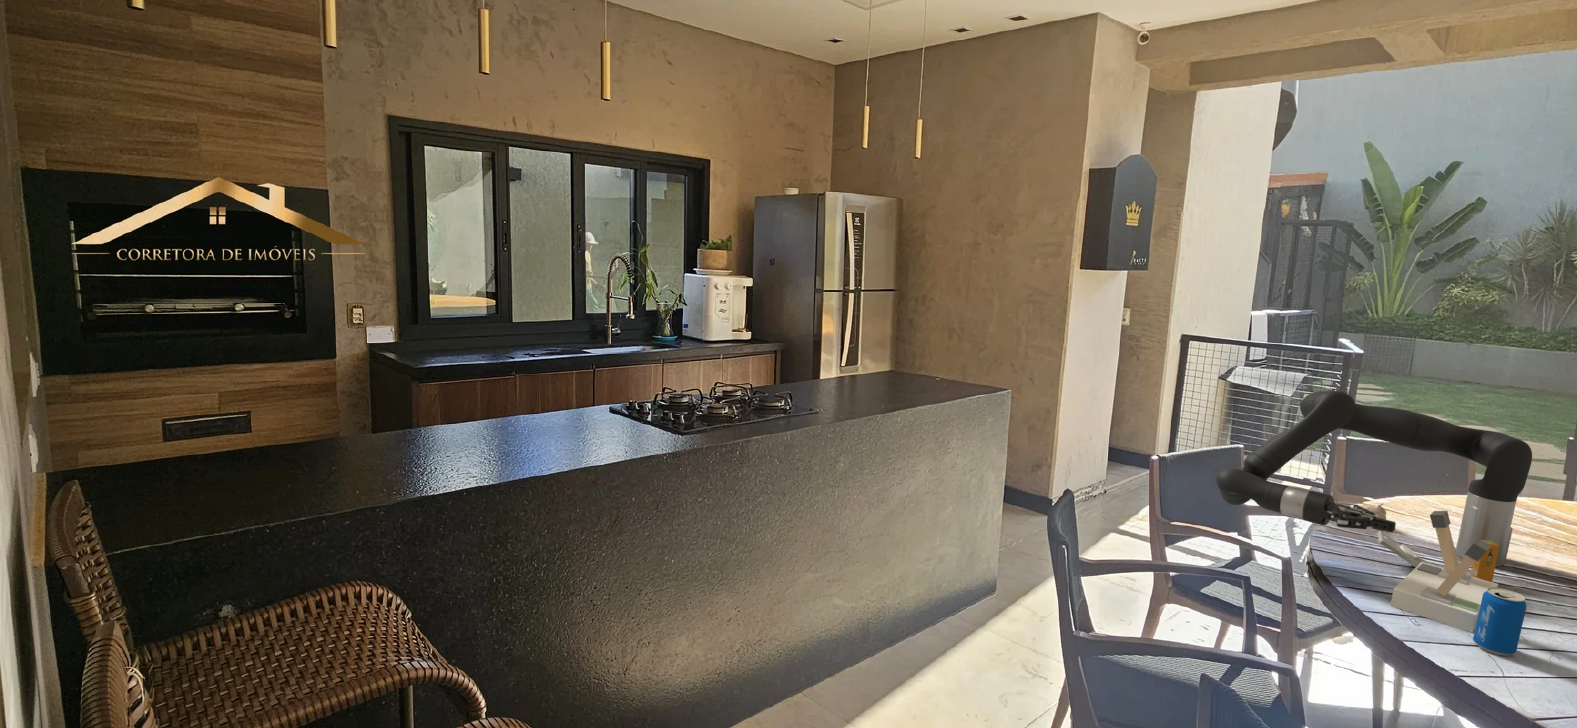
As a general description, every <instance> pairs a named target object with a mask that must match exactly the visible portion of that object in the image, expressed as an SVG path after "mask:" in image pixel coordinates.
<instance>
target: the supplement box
mask: <svg viewBox="0 0 1577 728" xmlns="http://www.w3.org/2000/svg"><path fill="white" fill-rule="evenodd" d="M1482 541H1484V542H1485V543H1487V544H1489V545H1491V547H1490V548H1489V549H1488V550H1487V551H1486V553H1485V554H1484V555H1483V556H1482V557H1481V558H1480V560H1479V561H1478V562H1477V561H1475V562H1474V564H1473V565H1472V566H1471V567H1470V572H1469V575H1471V576H1472V577H1476V578H1479V579H1482V580H1486V581H1489V582H1493V580H1494V574H1495V571H1496V566H1495V565H1496V560H1497V555H1498V549H1499V545H1497V544H1496V543H1494V542H1492V541H1487V540H1482Z"/></svg>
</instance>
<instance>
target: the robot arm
mask: <svg viewBox="0 0 1577 728" xmlns="http://www.w3.org/2000/svg"><path fill="white" fill-rule="evenodd" d="M1299 411H1300V413H1301V416H1303V419H1301V420H1300V421H1298V422H1296V424H1294V425H1293V426H1291V427H1289V428H1288V429H1286V430H1284V431H1282V432H1280V433H1278V434H1276V435H1274V436H1273V437H1271V438H1270V439H1268V440H1266V441H1265V442H1263V443H1261V444H1260V445H1259V446H1258V447H1257V448H1255V450H1253V451H1252V452H1251V453H1250V454H1248V455H1247V456H1246V457H1245V459H1244V461H1243V464H1242V465H1243V466H1242V469H1239V468H1226V469H1223V470H1221V471H1219V472H1218V473H1217V475H1216V477H1215V482H1216V485H1217V489H1218V490H1219V493H1220V495H1221V498H1222V499H1223V500H1224V501H1225V502H1226V503H1227V504H1229V505H1232V506H1241V505H1243V504H1246V503H1248V502H1249V501H1250V500H1252V501H1253V502H1255V503H1256V504H1257V506H1259V507H1260V508H1262V509H1265V510H1268V511H1271V512H1275V513H1279V514H1282V515H1286V516H1288V517H1291V518H1294V519H1297V520H1301V521H1305V522H1308V523H1312V524H1316V525H1320V526H1326V525H1328V524H1329V523H1330V521H1331V522H1333V523H1334V522H1335V523H1336V526H1337V527H1338V528H1343V529H1344V528H1346V529H1358V530H1367V529H1376V530H1379V531H1385V532H1389V533H1393V532H1394V531H1395V530H1396V526H1397V522H1395V521H1392V520H1390V519H1387V518H1386V519H1382V518H1378V517H1376V516H1375V513H1373V512H1371V511H1369V510H1367V509H1365V508H1363V507H1361V505H1359V504H1353V505H1352V506H1351V505H1349V504H1345V503H1342V504H1337V503H1335V499H1334V497H1333V495H1331V494H1329V493H1328V494H1327V493H1324V492H1321V491H1320V492H1319V491H1316V490H1315V491H1314V490H1312V489H1306V488H1303V487H1298V486H1291V485H1286V484H1281V483H1277V482H1272V481H1270V480H1268V479H1270V477H1272V476H1273V475H1274V474H1275V473H1276V472H1278V471H1279V470H1280V469H1281V468H1283V467H1284V466H1285V465H1286V464H1287V463H1289V462H1290V461H1291V460H1292V459H1293V458H1295V457H1296V456H1297V455H1299V454H1300V453H1302V452H1303V451H1305V449H1307V448H1308V447H1310V446H1311V445H1313V444H1314V443H1316V442H1317V441H1319V440H1321V439H1322V438H1324V437H1325V436H1327V435H1328V434H1330V433H1332V432H1335V431H1336V430H1337V429H1339V430H1346V431H1351V432H1355V433H1358V434H1362V435H1365V436H1367V437H1369V438H1370V437H1371V438H1374V439H1376V440H1380V441H1383V442H1386V443H1389V444H1394V445H1396V446H1400V447H1405V448H1409V449H1412V450H1416V451H1417V450H1418V451H1423V452H1445V453H1449V454H1453V455H1455V456H1459V457H1462V458H1465V459H1467V460H1470V461H1473V462H1475V463H1477V464H1479V465H1481V466H1484V467H1486V468H1485V471H1484V474H1483V478H1481V479H1479V478H1478V479H1473V480H1471V481H1470V482H1469V485H1468V486H1469V487H1468V490H1467V493H1466V494H1467V496H1466V500H1465V505H1464V507H1463V508H1464V510H1463V513H1462V518H1461V523H1460V528H1459V533H1458V538H1457V542H1456V548H1455V551H1456V555H1457V557H1459V558H1461V559H1463V558H1464V557H1465V556H1466V555H1465V553H1466V552H1467V551H1468V549H1469V548H1470V547H1471V546H1472V545H1473V543H1474V542H1475V541H1476V540H1477V539H1480V540H1487V541H1492V542H1494V543H1496V544H1497V545H1499V549H1498V555H1497V560H1496V565H1495V567H1501V566H1502V565H1503V564H1505V563H1506V562H1507V557H1508V552H1509V547H1510V543H1511V539H1512V535H1513V527H1512V522H1513V519H1514V513H1515V509H1516V505H1517V500H1518V498H1519V497H1518V496H1519V495H1521V494H1520V493H1522V492H1523V490H1524V488H1525V485H1526V482H1527V479H1528V476H1529V473H1530V469H1531V465H1532V462H1533V461H1532V460H1533V452H1532V448H1531V446H1530V445H1529V443H1527V442H1525V441H1523V440H1522V439H1519V438H1517V437H1514V436H1512V435H1509V434H1505V433H1502V432H1498V431H1492V430H1485V429H1478V428H1471V427H1465V426H1460V425H1457V424H1453V423H1451V422H1449V421H1445V420H1444V419H1440V418H1437V417H1434V416H1431V415H1428V414H1423V413H1420V412H1417V411H1413V410H1407V409H1401V408H1395V407H1388V406H1387V407H1386V406H1376V405H1369V404H1368V405H1366V404H1360V403H1357V402H1355V400H1354V397H1352V396H1351V395H1350V394H1348V393H1347V392H1344V391H1340V390H1319V391H1314V392H1311V393H1308V395H1306V396H1304V398H1302V400H1301V402H1300V405H1299Z"/></svg>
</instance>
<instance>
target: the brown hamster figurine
mask: <svg viewBox="0 0 1577 728" xmlns="http://www.w3.org/2000/svg"><path fill="white" fill-rule="evenodd" d="M1383 505H1384V502H1380V503H1378V504H1368V503H1366V504H1361V505H1360V506H1361V507H1363V508H1365V509H1367V510H1369V511H1371V512H1373V513H1375V516H1376V517H1378V518H1382V519H1386V520H1387V511H1386V509H1385V508H1384V507H1383Z"/></svg>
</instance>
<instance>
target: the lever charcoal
mask: <svg viewBox="0 0 1577 728" xmlns="http://www.w3.org/2000/svg"><path fill="white" fill-rule="evenodd" d="M1448 511H1449V510H1434V511H1433V512H1431V513H1430V514H1429V517H1430V520H1431V521H1430V522H1431V525H1432V528H1433V529H1435V533H1436V536H1437V540H1438V546H1439V548H1440V553H1441V556H1442V560H1443V565H1444V568H1445V569H1446V573H1451V572H1452V571H1453V570H1454V569H1455V568H1456V566H1457V565H1458V564H1459V563H1460V562H1459V560H1458V556H1457V555H1456V548H1455V544H1454V540H1453V537H1452V533H1451V528H1450V525H1451V520H1450V516H1449V512H1448Z"/></svg>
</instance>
